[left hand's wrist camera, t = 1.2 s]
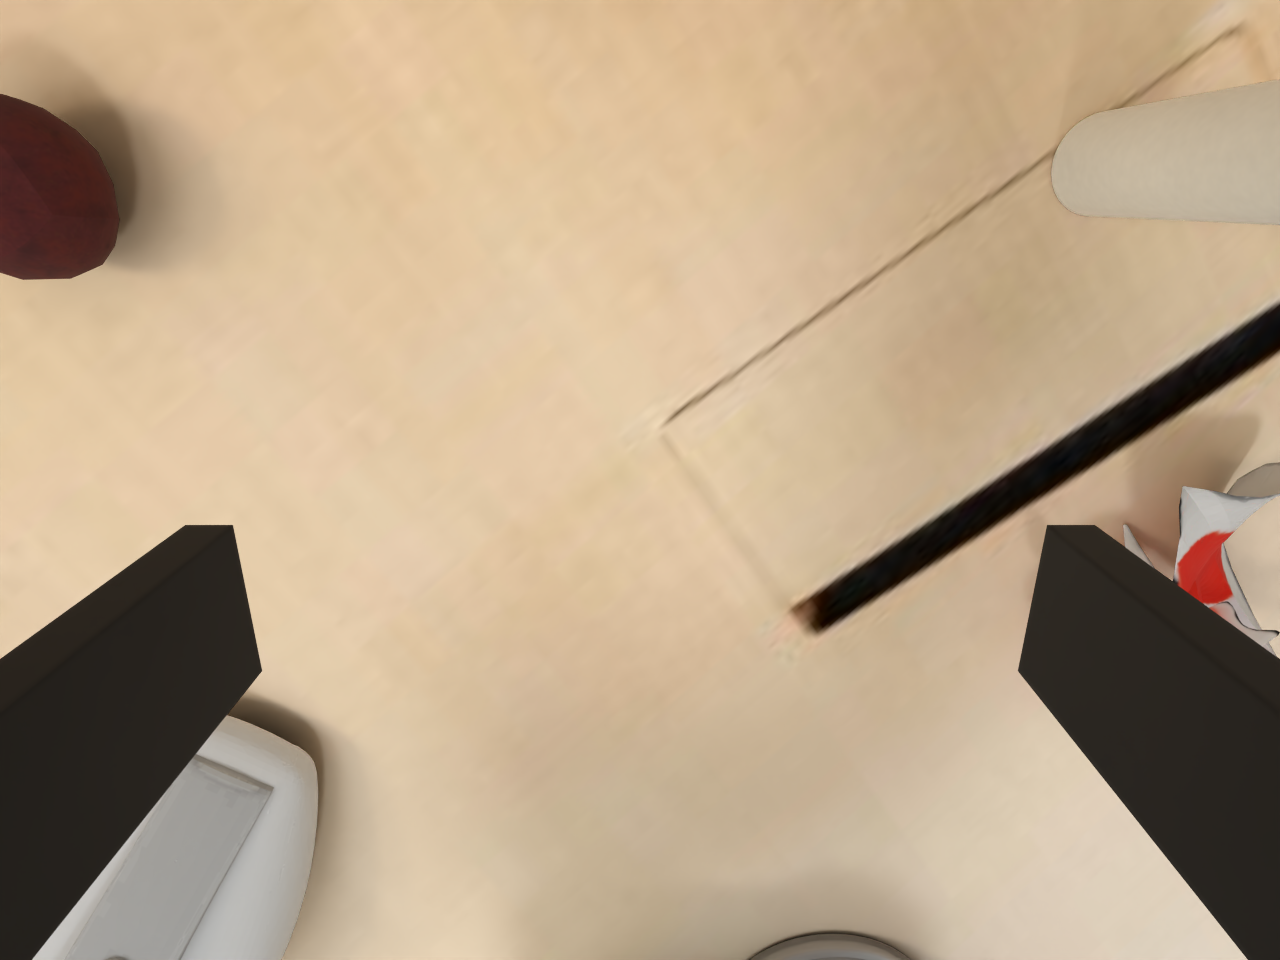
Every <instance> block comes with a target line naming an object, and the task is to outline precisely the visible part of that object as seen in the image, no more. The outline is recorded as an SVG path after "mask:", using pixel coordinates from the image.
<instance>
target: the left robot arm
mask: <svg viewBox="0 0 1280 960" xmlns="http://www.w3.org/2000/svg"><path fill="white" fill-rule="evenodd" d="M261 672H262V668H261V663H260V658H259V653H258V648H257V643H256V638H255V633H254V628H253V623H252V618H251V613H250V608H249V603H248V598H247V593H246V588H245V583H244V579H243V574H242V569H241V564H240V559H239V554H238V549H237V544H236V539H235V534H234V529H233V525H185V526H184V527H182V528H181V529H179V530H178V531H177V532H175V533H174V534H172V535H171V536H170V537H168V538H167V539H166V540H164V541H163V542H161V543H160V544H159V545H157V546H156V547H154V548H153V549H152V550H150V551H149V552H148V553H146V554H145V555H143V556H142V557H141V558H139V559H138V560H137V561H135V562H134V563H132V564H131V565H130V566H128V567H127V568H125V569H124V570H123V571H121V572H120V573H119V574H117V575H116V576H114V577H113V578H112V579H110V580H109V581H107V582H106V583H105V584H103V585H102V586H101V587H99V588H98V589H96V590H95V591H94V592H92V593H91V594H90V595H88V596H87V597H85V598H84V599H83V600H81V601H80V602H78V603H77V604H76V605H74V606H73V607H72V608H70V609H69V610H67V611H66V612H65V613H63V614H62V615H60V616H59V617H58V618H56V619H55V620H54V621H52V622H51V623H49V624H48V625H47V626H45V627H44V628H43V629H41V630H40V631H38V632H37V633H36V634H34V635H33V636H31V637H30V638H29V639H27V640H26V641H25V642H23V643H22V644H20V645H19V646H18V647H16V648H15V649H13V650H12V651H11V652H9V653H8V654H7V655H5V656H4V657H2V658H1V659H0V960H32V959H33V958H34V957H35V955H36V954H37V953H38V952H39V950H40V949H41V948H42V947H43V945H44V944H45V943H46V942H47V940H48V939H49V938H50V936H51V935H52V934H53V933H54V931H55V930H56V929H57V928H58V926H59V925H60V924H61V923H62V921H63V920H64V919H65V918H66V916H67V915H68V914H69V913H70V911H71V910H72V909H73V908H74V906H75V905H76V904H77V903H78V901H79V900H80V899H81V898H82V896H83V895H84V894H85V893H86V891H87V890H88V889H89V888H90V886H91V885H92V884H93V883H94V881H95V880H96V879H97V877H98V876H99V875H100V874H101V872H102V871H103V870H104V869H105V867H106V866H107V865H108V864H109V862H110V861H111V860H112V859H113V857H114V856H115V855H116V854H117V852H118V851H119V850H120V849H121V847H122V846H123V845H124V844H125V842H126V841H127V840H128V839H129V837H130V836H131V835H132V834H133V832H134V831H135V830H136V829H137V827H138V826H139V825H140V823H141V822H142V821H143V820H144V818H145V817H146V816H147V815H148V813H149V812H150V811H151V810H152V808H153V807H154V806H155V805H156V803H157V802H158V801H159V800H160V798H161V797H162V796H163V795H164V793H165V792H166V791H167V790H168V788H169V787H170V786H171V785H172V783H173V782H174V781H175V780H176V778H177V777H178V776H179V775H180V773H181V772H182V771H183V769H184V768H185V767H186V766H187V764H188V763H189V762H190V761H191V759H192V758H193V757H194V756H195V754H196V753H197V752H198V751H199V749H200V748H201V747H202V746H203V744H204V743H205V742H206V741H207V739H208V738H209V737H210V736H211V734H212V733H213V732H214V731H215V729H216V728H217V727H218V726H219V724H220V723H221V722H222V721H223V719H224V718H225V717H226V715H227V714H228V713H229V712H230V710H231V709H232V708H233V707H234V705H235V704H236V703H237V702H238V700H239V699H240V698H241V697H242V695H243V694H244V693H245V692H246V690H247V689H248V688H249V687H250V685H251V684H252V683H253V682H254V680H255V679H256V678H257V677H258V675H259V674H260V673H261ZM1018 672H1019V673H1020V674H1021V675H1022V677H1023V678H1024V679H1025V680H1026V682H1027V683H1028V684H1029V685H1030V687H1031V688H1032V689H1033V690H1034V692H1035V693H1036V694H1037V695H1038V697H1039V698H1040V699H1041V700H1042V702H1043V703H1044V704H1045V705H1046V707H1047V708H1048V709H1049V710H1050V712H1051V713H1052V714H1053V715H1054V717H1055V718H1056V719H1057V721H1058V722H1059V723H1060V724H1061V726H1062V727H1063V728H1064V729H1065V731H1066V732H1067V733H1068V734H1069V736H1070V737H1071V738H1072V739H1073V741H1074V742H1075V743H1076V744H1077V746H1078V747H1079V748H1080V749H1081V751H1082V752H1083V753H1084V754H1085V756H1086V757H1087V758H1088V759H1089V761H1090V762H1091V763H1092V764H1093V766H1094V767H1095V768H1096V769H1097V771H1098V772H1099V773H1100V775H1101V776H1102V777H1103V778H1104V780H1105V781H1106V782H1107V783H1108V785H1109V786H1110V787H1111V788H1112V790H1113V791H1114V792H1115V793H1116V795H1117V796H1118V797H1119V798H1120V800H1121V801H1122V802H1123V803H1124V805H1125V806H1126V807H1127V808H1128V810H1129V811H1130V812H1131V813H1132V815H1133V816H1134V817H1135V818H1136V820H1137V821H1138V822H1139V823H1140V825H1141V826H1142V827H1143V829H1144V830H1145V831H1146V832H1147V834H1148V835H1149V836H1150V837H1151V839H1152V840H1153V841H1154V842H1155V844H1156V845H1157V846H1158V847H1159V849H1160V850H1161V851H1162V852H1163V854H1164V855H1165V856H1166V857H1167V859H1168V860H1169V861H1170V862H1171V864H1172V865H1173V866H1174V867H1175V869H1176V870H1177V871H1178V872H1179V874H1180V875H1181V876H1182V877H1183V879H1184V880H1185V881H1186V883H1187V884H1188V885H1189V886H1190V888H1191V889H1192V890H1193V891H1194V893H1195V894H1196V895H1197V896H1198V898H1199V899H1200V900H1201V901H1202V903H1203V904H1204V905H1205V906H1206V908H1207V909H1208V910H1209V911H1210V913H1211V914H1212V915H1213V916H1214V918H1215V919H1216V920H1217V921H1218V923H1219V924H1220V925H1221V926H1222V928H1223V929H1224V930H1225V931H1226V933H1227V934H1228V935H1229V936H1230V938H1231V939H1232V940H1233V942H1234V943H1235V944H1236V945H1237V947H1238V948H1239V949H1240V950H1241V952H1242V953H1243V954H1244V955H1245V957H1246V958H1247V959H1248V960H1280V659H1279V658H1278V657H1276V656H1275V655H1273V654H1272V653H1271V652H1269V651H1268V650H1267V649H1265V648H1264V647H1262V646H1261V645H1260V644H1258V643H1257V642H1255V641H1254V640H1253V639H1251V638H1250V637H1249V636H1247V635H1246V634H1244V633H1243V632H1242V631H1240V630H1239V629H1237V628H1236V627H1235V626H1233V625H1232V624H1231V623H1229V622H1228V621H1226V620H1225V619H1224V618H1222V617H1221V616H1220V615H1218V614H1217V613H1215V612H1214V611H1213V610H1211V609H1210V608H1208V607H1207V606H1206V605H1204V604H1203V603H1202V602H1200V601H1199V600H1197V599H1196V598H1195V597H1193V596H1192V595H1190V594H1189V593H1188V592H1186V591H1185V590H1184V589H1182V588H1181V587H1179V586H1178V585H1177V584H1175V583H1174V582H1173V581H1171V580H1170V579H1168V578H1167V577H1166V576H1164V575H1163V574H1161V573H1160V572H1159V571H1157V570H1156V569H1155V568H1153V567H1152V566H1150V565H1149V564H1148V563H1146V562H1145V561H1143V560H1142V559H1141V558H1139V557H1138V556H1137V555H1135V554H1134V553H1132V552H1131V551H1130V550H1128V549H1127V548H1126V547H1124V546H1123V545H1121V544H1120V543H1119V542H1117V541H1116V540H1114V539H1113V538H1112V537H1110V536H1109V535H1108V534H1106V533H1105V532H1103V531H1102V530H1101V529H1099V528H1098V527H1096V526H1095V525H1047V529H1046V534H1045V539H1044V544H1043V549H1042V554H1041V559H1040V564H1039V569H1038V574H1037V578H1036V583H1035V588H1034V593H1033V598H1032V603H1031V608H1030V613H1029V618H1028V623H1027V628H1026V633H1025V638H1024V643H1023V648H1022V653H1021V658H1020V663H1019V668H1018ZM750 960H910V959H909V958H908V957H906V956H905V955H904V954H902V953H901V952H899V951H898V950H896V949H894V948H893V947H891V946H888V945H886V944H884V943H882V942H879V941H876V940H873V939H869V938H866V937H861V936H856V935H847V934H818V935H810V936H804V937H799V938H795V939H792V940H788V941H785V942H782V943H779V944H777V945H775V946H772V947H770V948H768V949H766V950H764V951H762V952H761V953H759V954H757V955H756V956H754V957H753V958H751V959H750Z"/></svg>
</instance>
